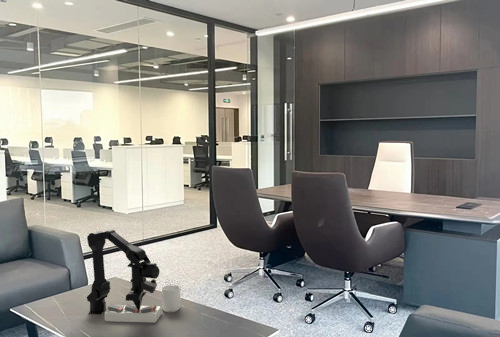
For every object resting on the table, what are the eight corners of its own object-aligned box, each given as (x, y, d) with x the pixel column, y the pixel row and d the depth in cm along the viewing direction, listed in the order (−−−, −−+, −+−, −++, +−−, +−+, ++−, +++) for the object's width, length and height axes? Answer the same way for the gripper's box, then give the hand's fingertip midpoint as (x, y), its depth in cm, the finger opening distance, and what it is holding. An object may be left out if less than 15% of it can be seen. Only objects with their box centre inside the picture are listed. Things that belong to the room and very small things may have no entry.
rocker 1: (107, 309, 201) (108, 306, 201) (110, 307, 205) (110, 303, 204) (120, 313, 201) (121, 309, 201) (122, 310, 204) (123, 307, 204)
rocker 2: (124, 309, 201) (125, 306, 201) (126, 307, 204) (127, 303, 204) (137, 314, 201) (138, 310, 201) (139, 311, 204) (140, 308, 204)
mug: (172, 314, 209) (173, 291, 209) (158, 311, 213) (158, 289, 213) (186, 306, 220) (186, 284, 220) (172, 303, 224) (172, 282, 224)
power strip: (104, 321, 200) (104, 312, 200) (112, 312, 210) (112, 304, 210) (155, 322, 199) (155, 313, 199) (160, 314, 209) (160, 305, 209)
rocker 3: (141, 313, 201) (140, 310, 200) (143, 311, 204) (142, 307, 204) (154, 310, 200) (153, 307, 200) (156, 308, 203) (155, 305, 203)
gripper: (149, 282, 192) (150, 316, 192) (159, 270, 211) (160, 302, 211) (124, 282, 192) (125, 316, 193) (137, 270, 211) (138, 302, 212)
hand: (138, 309), depth 202 cm, fingers closed, pressing on rocker 2
